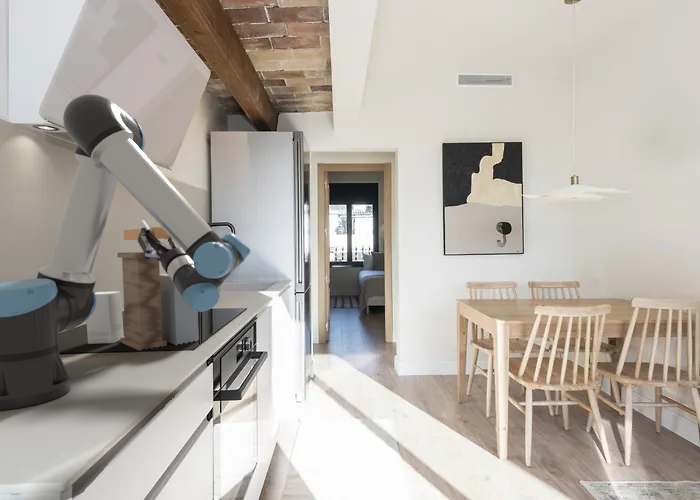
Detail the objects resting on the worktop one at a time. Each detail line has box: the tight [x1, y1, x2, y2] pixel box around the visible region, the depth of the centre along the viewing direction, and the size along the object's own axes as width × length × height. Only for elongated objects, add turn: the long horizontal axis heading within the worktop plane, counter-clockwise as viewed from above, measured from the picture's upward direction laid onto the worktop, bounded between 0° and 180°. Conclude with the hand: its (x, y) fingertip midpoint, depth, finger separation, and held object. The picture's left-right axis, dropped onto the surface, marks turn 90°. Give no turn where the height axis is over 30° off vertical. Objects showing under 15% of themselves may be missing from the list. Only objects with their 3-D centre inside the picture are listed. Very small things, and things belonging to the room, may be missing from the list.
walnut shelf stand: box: [117, 251, 168, 351], centre depth 133 cm, size 8×16×28 cm, turn 44°
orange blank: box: [123, 226, 170, 241], centre depth 129 cm, size 4×26×3 cm, turn 44°
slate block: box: [160, 273, 200, 346], centre depth 138 cm, size 7×16×20 cm, turn 44°
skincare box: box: [85, 290, 125, 345], centre depth 137 cm, size 8×7×16 cm
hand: (150, 224), depth 126 cm, fingers closed on orange blank, 4 cm apart
